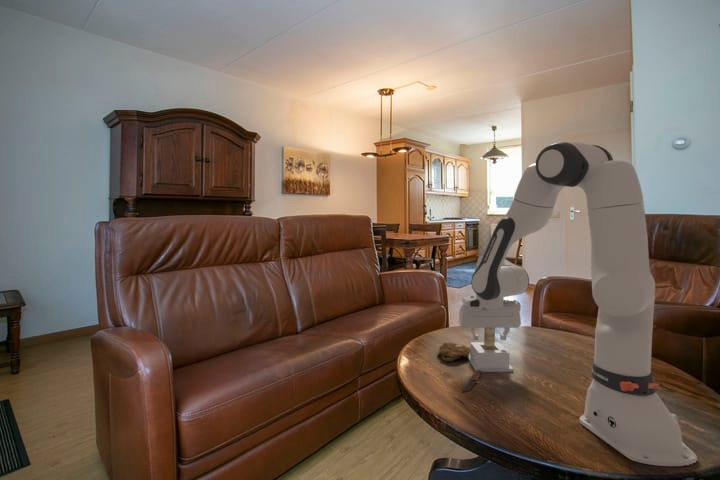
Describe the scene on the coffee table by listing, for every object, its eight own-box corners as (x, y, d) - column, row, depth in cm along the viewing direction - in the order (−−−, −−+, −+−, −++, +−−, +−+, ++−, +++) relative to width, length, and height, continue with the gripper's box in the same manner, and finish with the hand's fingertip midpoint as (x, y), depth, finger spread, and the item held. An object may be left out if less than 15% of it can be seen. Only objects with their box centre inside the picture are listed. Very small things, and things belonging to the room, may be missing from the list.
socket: (513, 371, 119) (513, 353, 119) (476, 371, 119) (476, 353, 119) (500, 357, 131) (500, 341, 131) (466, 357, 131) (466, 341, 131)
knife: (472, 392, 104) (461, 390, 105) (472, 396, 104) (461, 393, 105) (485, 371, 118) (475, 369, 119) (485, 374, 118) (475, 372, 120)
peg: (495, 363, 123) (496, 328, 123) (485, 363, 124) (486, 328, 123) (492, 359, 127) (493, 325, 126) (482, 359, 127) (483, 325, 126)
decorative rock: (468, 367, 124) (470, 353, 138) (469, 356, 124) (471, 343, 138) (435, 362, 128) (439, 348, 142) (435, 350, 128) (440, 338, 142)
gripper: (516, 297, 127) (516, 336, 127) (457, 298, 127) (457, 336, 128) (524, 302, 120) (523, 343, 121) (462, 302, 121) (461, 343, 122)
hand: (489, 339), depth 125 cm, fingers open, 8 cm apart
